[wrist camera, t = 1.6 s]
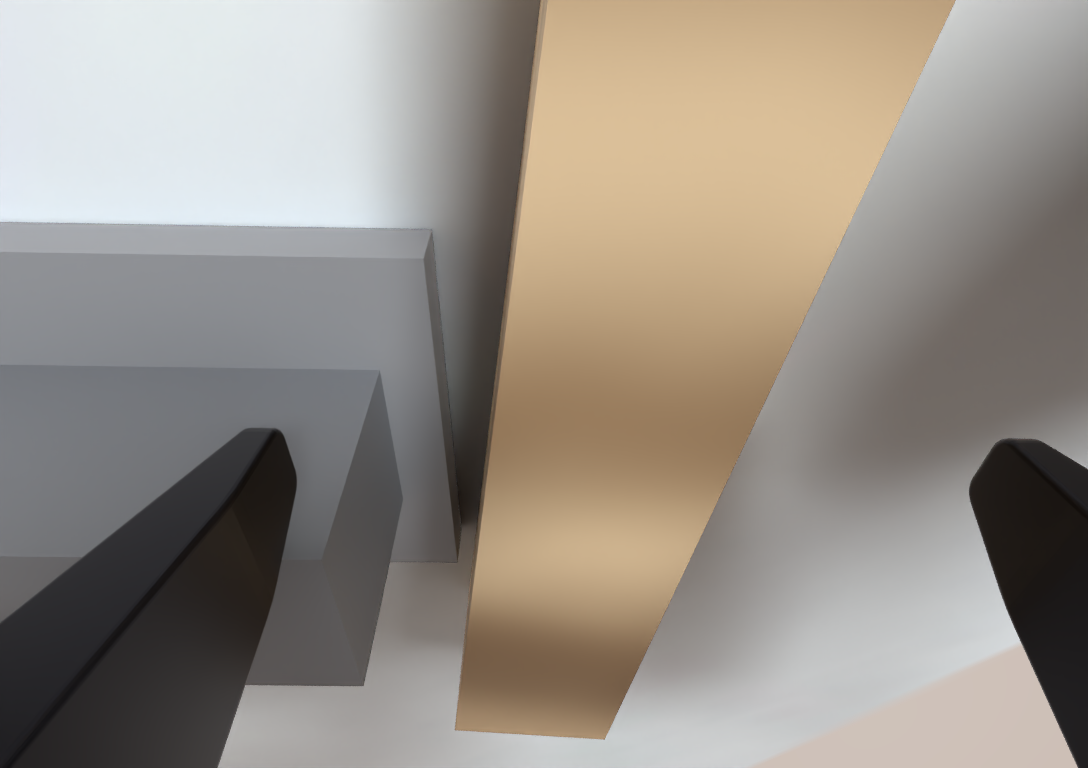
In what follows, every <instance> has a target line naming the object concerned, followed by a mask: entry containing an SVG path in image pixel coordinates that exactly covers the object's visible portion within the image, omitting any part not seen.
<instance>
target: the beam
mask: <svg viewBox="0 0 1088 768" xmlns="http://www.w3.org/2000/svg"><path fill="white" fill-rule="evenodd" d="M955 1H956V0H540V8H539V16H538V24H537V33H536V41H535V49H534V57H533V66H532V74H531V82H530V90H529V99H528V107H527V115H526V123H525V132H524V140H523V148H522V157H521V165H520V173H519V181H518V190H517V198H516V206H515V214H514V223H513V231H512V239H511V247H510V256H509V264H508V272H507V281H506V289H505V297H504V305H503V314H502V322H501V330H500V338H499V347H498V355H497V363H496V372H495V380H494V388H493V396H492V405H491V413H490V421H489V429H488V438H487V446H486V454H485V462H484V471H483V479H482V487H481V496H480V504H479V512H478V520H477V529H476V537H475V545H474V553H473V562H472V570H471V578H470V586H469V596H468V606H467V616H466V626H465V636H464V645H463V655H462V665H461V675H460V685H459V695H458V705H457V715H456V725H455V730H461V731H477V732H493V733H509V734H525V735H542V736H558V737H574V738H590V739H605V737H606V735H607V733H608V731H609V729H610V727H611V725H612V723H613V721H614V718H615V716H616V714H617V712H618V710H619V708H620V706H621V704H622V702H623V699H624V697H625V695H626V693H627V691H628V689H629V687H630V685H631V683H632V681H633V678H634V676H635V674H636V672H637V670H638V668H639V666H640V664H641V662H642V659H643V657H644V655H645V653H646V651H647V649H648V647H649V645H650V643H651V641H652V638H653V636H654V634H655V632H656V630H657V628H658V626H659V624H660V622H661V619H662V617H663V615H664V613H665V611H666V609H667V607H668V605H669V603H670V601H671V598H672V596H673V594H674V592H675V590H676V588H677V586H678V584H679V582H680V579H681V577H682V575H683V573H684V571H685V569H686V567H687V565H688V563H689V561H690V558H691V556H692V554H693V552H694V550H695V548H696V546H697V544H698V542H699V539H700V537H701V535H702V533H703V531H704V529H705V527H706V525H707V523H708V521H709V518H710V516H711V514H712V512H713V510H714V508H715V506H716V504H717V502H718V499H719V497H720V495H721V493H722V491H723V489H724V487H725V485H726V483H727V481H728V478H729V476H730V474H731V472H732V470H733V468H734V466H735V464H736V462H737V459H738V457H739V455H740V453H741V451H742V449H743V447H744V445H745V443H746V441H747V438H748V436H749V434H750V432H751V430H752V428H753V426H754V424H755V422H756V419H757V417H758V415H759V413H760V411H761V409H762V407H763V405H764V403H765V401H766V398H767V396H768V394H769V392H770V390H771V388H772V386H773V384H774V382H775V379H776V377H777V375H778V373H779V371H780V369H781V367H782V365H783V363H784V361H785V358H786V356H787V354H788V352H789V350H790V348H791V346H792V344H793V342H794V339H795V337H796V335H797V333H798V331H799V329H800V327H801V325H802V323H803V321H804V318H805V316H806V314H807V312H808V310H809V308H810V306H811V304H812V302H813V299H814V297H815V295H816V293H817V291H818V289H819V287H820V285H821V283H822V281H823V278H824V276H825V274H826V272H827V270H828V268H829V266H830V264H831V262H832V259H833V257H834V255H835V253H836V251H837V249H838V247H839V245H840V243H841V241H842V238H843V236H844V234H845V232H846V230H847V228H848V226H849V224H850V222H851V219H852V217H853V215H854V213H855V211H856V209H857V207H858V205H859V203H860V201H861V198H862V196H863V194H864V192H865V190H866V188H867V186H868V184H869V182H870V179H871V177H872V175H873V173H874V171H875V169H876V167H877V165H878V163H879V161H880V158H881V156H882V154H883V152H884V150H885V148H886V146H887V144H888V142H889V139H890V137H891V135H892V133H893V131H894V129H895V127H896V125H897V123H898V121H899V118H900V116H901V114H902V112H903V110H904V108H905V106H906V104H907V102H908V99H909V97H910V95H911V93H912V91H913V89H914V87H915V85H916V83H917V81H918V78H919V76H920V74H921V72H922V70H923V68H924V66H925V64H926V62H927V59H928V57H929V55H930V53H931V51H932V49H933V47H934V45H935V43H936V41H937V38H938V36H939V34H940V32H941V30H942V28H943V26H944V24H945V22H946V19H947V17H948V15H949V13H950V11H951V9H952V7H953V5H954V3H955Z"/></svg>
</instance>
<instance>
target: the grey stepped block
mask: <svg viewBox="0 0 1088 768" xmlns="http://www.w3.org/2000/svg"><path fill="white" fill-rule="evenodd" d="M251 427H252V428H277V429H279V430H281V432H282V433H283V435H284V437H285V439H286V442H287V445H288V448H289V452H290V455H291V458H292V461H293V464H294V467H295V470H296V474H297V490H296V495H295V500H294V505H293V510H292V514H291V519H290V524H289V529H288V533H287V538H286V543H285V548H284V553H283V557H282V562H281V567H280V572H279V576H278V581H277V585H276V590H275V594H274V598H273V602H272V605H271V608H270V612H269V615H268V618H267V621H266V624H265V627H264V630H263V633H262V636H261V639H260V642H259V645H258V648H257V651H256V654H255V657H254V660H253V663H252V666H251V669H250V672H249V675H248V678H247V681H246V684H245V685H303V686H364V681H365V676H366V672H367V667H368V662H369V657H370V653H371V648H372V643H373V639H374V634H375V629H376V625H377V620H378V615H379V610H380V606H381V601H382V596H383V592H384V587H385V582H386V578H387V573H388V568H389V563H390V562H452V563H457V562H458V554H459V545H460V537H461V517H460V507H459V497H458V487H457V477H456V467H455V457H454V447H453V437H452V427H451V417H450V407H449V397H448V386H447V376H446V366H445V356H444V346H443V336H442V326H441V316H440V306H439V296H438V286H437V276H436V266H435V256H434V245H433V235H432V229H384V228H324V227H264V226H204V225H143V224H83V223H23V222H0V622H1V621H2V620H4V619H5V618H6V617H7V616H9V615H10V614H11V613H12V612H14V611H15V610H16V609H17V608H19V607H20V606H21V605H22V604H24V603H25V602H26V601H28V600H29V599H30V598H31V597H33V596H34V595H35V594H36V593H38V592H39V591H40V590H41V589H43V588H44V587H45V586H46V585H48V584H49V583H50V582H51V581H53V580H54V579H55V578H57V577H58V576H59V575H60V574H62V573H63V572H64V571H65V570H67V569H68V568H69V567H70V566H72V565H73V564H74V563H75V562H77V561H78V560H79V559H80V558H82V557H83V556H84V555H86V554H87V553H88V552H89V551H91V550H92V549H93V548H94V547H96V546H97V545H98V544H99V543H101V542H102V541H103V540H104V539H106V538H107V537H108V536H109V535H111V534H112V533H113V532H115V531H116V530H117V529H118V528H120V527H121V526H122V525H123V524H125V523H126V522H127V521H128V520H130V519H131V518H132V517H133V516H135V515H136V514H137V513H138V512H140V511H141V510H142V509H144V508H145V507H146V506H147V505H149V504H150V503H151V502H152V501H154V500H155V499H156V498H157V497H159V496H160V495H161V494H162V493H164V492H165V491H166V490H167V489H169V488H170V487H171V486H173V485H174V484H175V483H176V482H178V481H179V480H180V479H181V478H183V477H184V476H185V475H186V474H188V473H189V472H190V471H191V470H193V469H194V468H195V467H196V466H198V465H199V464H200V463H201V462H203V461H204V460H205V459H207V458H208V457H209V456H210V455H212V454H213V453H214V452H215V451H217V450H218V449H219V448H220V447H222V446H223V445H224V444H225V443H227V442H228V441H229V440H230V439H232V438H233V437H234V436H236V435H237V434H238V433H239V432H241V431H242V430H244V429H246V428H251Z"/></svg>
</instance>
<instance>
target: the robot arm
mask: <svg viewBox="0 0 1088 768" xmlns="http://www.w3.org/2000/svg"><path fill="white" fill-rule="evenodd" d="M296 490H297V474H296V470H295V467H294V464H293V461H292V458H291V455H290V452H289V448H288V445H287V442H286V439H285V437H284V435H283V433H282V432H281V430H279V429H277V428H252V427H251V428H246V429H244V430H242V431H241V432H239V433H238V434H237V435H236V436H234V437H233V438H232V439H230V440H229V441H228V442H227V443H225V444H224V445H223V446H222V447H220V448H219V449H218V450H217V451H215V452H214V453H213V454H212V455H210V456H209V457H208V458H207V459H205V460H204V461H203V462H201V463H200V464H199V465H198V466H196V467H195V468H194V469H193V470H191V471H190V472H189V473H188V474H186V475H185V476H184V477H183V478H181V479H180V480H179V481H178V482H176V483H175V484H174V485H173V486H171V487H170V488H169V489H167V490H166V491H165V492H164V493H162V494H161V495H160V496H159V497H157V498H156V499H155V500H154V501H152V502H151V503H150V504H149V505H147V506H146V507H145V508H144V509H142V510H141V511H140V512H138V513H137V514H136V515H135V516H133V517H132V518H131V519H130V520H128V521H127V522H126V523H125V524H123V525H122V526H121V527H120V528H118V529H117V530H116V531H115V532H113V533H112V534H111V535H109V536H108V537H107V538H106V539H104V540H103V541H102V542H101V543H99V544H98V545H97V546H96V547H94V548H93V549H92V550H91V551H89V552H88V553H87V554H86V555H84V556H83V557H82V558H80V559H79V560H78V561H77V562H75V563H74V564H73V565H72V566H70V567H69V568H68V569H67V570H65V571H64V572H63V573H62V574H60V575H59V576H58V577H57V578H55V579H54V580H53V581H51V582H50V583H49V584H48V585H46V586H45V587H44V588H43V589H41V590H40V591H39V592H38V593H36V594H35V595H34V596H33V597H31V598H30V599H29V600H28V601H26V602H25V603H24V604H22V605H21V606H20V607H19V608H17V609H16V610H15V611H14V612H12V613H11V614H10V615H9V616H7V617H6V618H5V619H4V620H2V621H1V622H0V768H218V765H219V762H220V759H221V756H222V753H223V750H224V747H225V744H226V741H227V738H228V735H229V732H230V729H231V726H232V723H233V720H234V717H235V714H236V711H237V708H238V705H239V702H240V699H241V696H242V693H243V690H244V687H245V684H246V681H247V678H248V675H249V672H250V669H251V666H252V663H253V660H254V657H255V654H256V651H257V648H258V645H259V642H260V639H261V636H262V633H263V630H264V627H265V624H266V621H267V618H268V615H269V612H270V608H271V605H272V602H273V598H274V594H275V590H276V585H277V581H278V576H279V572H280V567H281V562H282V557H283V553H284V548H285V543H286V538H287V533H288V529H289V524H290V519H291V514H292V510H293V505H294V500H295V495H296ZM969 496H970V502H971V505H972V508H973V511H974V514H975V517H976V520H977V523H978V526H979V529H980V532H981V535H982V538H983V541H984V544H985V547H986V550H987V553H988V556H989V559H990V562H991V565H992V568H993V571H994V574H995V577H996V580H997V583H998V586H999V589H1000V592H1001V595H1002V598H1003V601H1004V603H1005V606H1006V609H1007V611H1008V614H1009V616H1010V618H1011V621H1012V623H1013V625H1014V628H1015V630H1016V632H1017V634H1018V637H1019V639H1020V641H1021V643H1022V645H1023V648H1024V650H1025V652H1026V654H1027V656H1028V659H1029V661H1030V663H1031V665H1032V667H1033V670H1034V672H1035V674H1036V676H1037V678H1038V681H1039V683H1040V685H1041V687H1042V689H1043V692H1044V694H1045V696H1046V698H1047V700H1048V702H1049V705H1050V707H1051V709H1052V711H1053V714H1054V716H1055V718H1056V720H1057V723H1058V725H1059V727H1060V729H1061V731H1062V734H1063V736H1064V738H1065V740H1066V742H1067V745H1068V747H1069V749H1070V751H1071V753H1072V756H1073V758H1074V760H1075V762H1076V764H1077V767H1078V768H1088V469H1086V468H1085V467H1083V466H1082V465H1080V464H1078V463H1077V462H1075V461H1073V460H1072V459H1070V458H1068V457H1067V456H1065V455H1063V454H1062V453H1060V452H1058V451H1057V450H1055V449H1053V448H1052V447H1050V446H1048V445H1047V444H1045V443H1043V442H1041V441H1039V440H1035V439H1012V438H1008V439H1002V440H1000V441H999V442H997V443H996V444H995V445H994V446H993V447H992V449H991V451H990V452H989V454H988V455H987V457H986V458H985V460H984V461H983V463H982V465H981V466H980V468H979V469H978V471H977V472H976V474H975V475H974V477H973V479H972V481H971V483H970V487H969Z"/></svg>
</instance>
